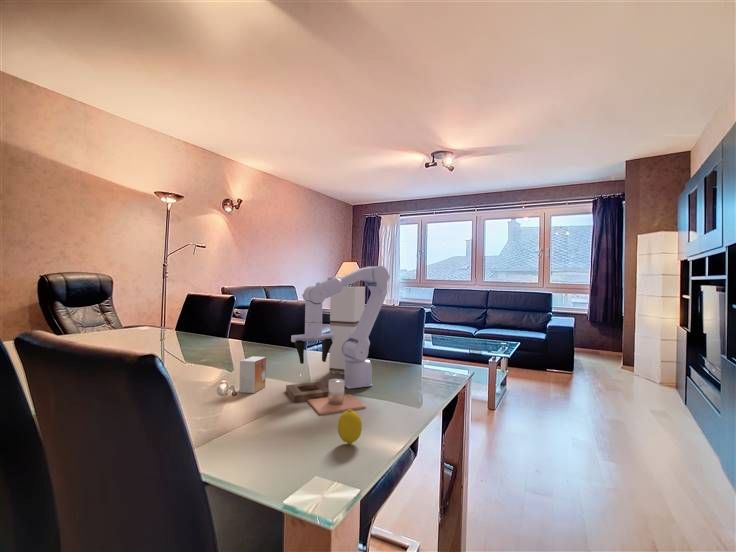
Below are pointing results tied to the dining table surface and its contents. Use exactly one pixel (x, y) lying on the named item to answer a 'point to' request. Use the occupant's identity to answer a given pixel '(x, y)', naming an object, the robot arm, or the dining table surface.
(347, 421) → the lemon
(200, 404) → the dining table surface
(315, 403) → the tile
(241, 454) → the dining table surface
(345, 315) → the white tall column
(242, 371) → the small box
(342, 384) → the end cover
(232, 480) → the dining table surface
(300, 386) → the bore block
